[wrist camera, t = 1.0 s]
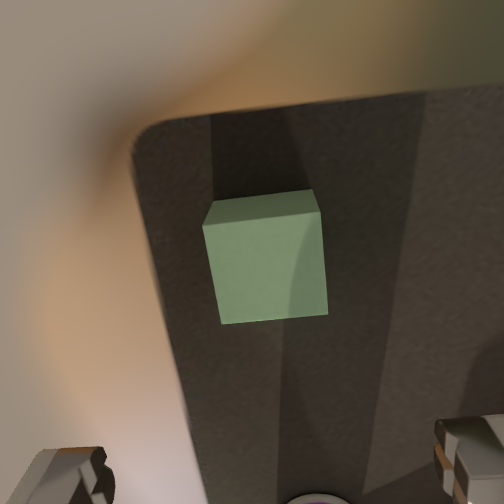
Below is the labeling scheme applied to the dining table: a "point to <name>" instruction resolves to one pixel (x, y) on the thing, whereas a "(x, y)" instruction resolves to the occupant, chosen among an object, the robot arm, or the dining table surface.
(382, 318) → the dining table surface
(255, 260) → the green block
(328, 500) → the supplement bottle
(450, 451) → the robot arm
